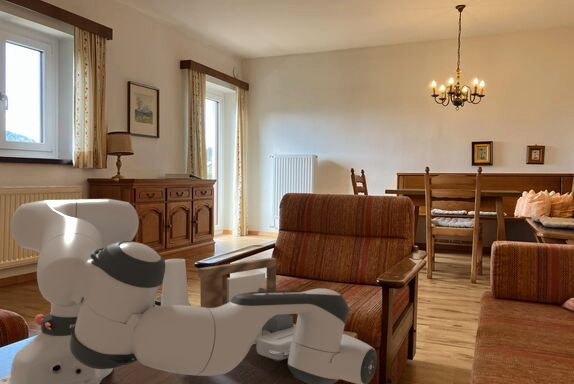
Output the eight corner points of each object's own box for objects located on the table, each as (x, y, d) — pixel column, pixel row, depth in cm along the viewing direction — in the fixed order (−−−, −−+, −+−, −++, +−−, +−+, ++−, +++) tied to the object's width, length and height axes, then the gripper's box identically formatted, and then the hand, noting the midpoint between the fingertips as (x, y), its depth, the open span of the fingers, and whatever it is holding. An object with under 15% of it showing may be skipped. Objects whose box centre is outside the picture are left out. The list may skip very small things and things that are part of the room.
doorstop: (277, 361, 111) (277, 320, 110) (261, 354, 115) (261, 314, 115) (293, 356, 114) (293, 316, 114) (277, 349, 119) (277, 310, 118)
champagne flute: (180, 351, 117) (180, 257, 116) (194, 359, 112) (194, 260, 111) (156, 358, 112) (155, 260, 112) (169, 367, 108) (168, 264, 107)
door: (231, 352, 115) (231, 280, 115) (225, 349, 117) (225, 278, 117) (268, 341, 123) (268, 273, 123) (261, 338, 125) (261, 272, 125)
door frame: (202, 361, 111) (202, 269, 110) (198, 358, 112) (198, 268, 112) (276, 339, 126) (276, 258, 126) (271, 337, 128) (271, 257, 127)
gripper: (279, 372, 98) (241, 353, 108) (344, 348, 112) (304, 333, 122) (279, 342, 98) (241, 326, 108) (344, 322, 111) (304, 309, 122)
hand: (275, 330), depth 115 cm, fingers closed on doorstop, 5 cm apart
